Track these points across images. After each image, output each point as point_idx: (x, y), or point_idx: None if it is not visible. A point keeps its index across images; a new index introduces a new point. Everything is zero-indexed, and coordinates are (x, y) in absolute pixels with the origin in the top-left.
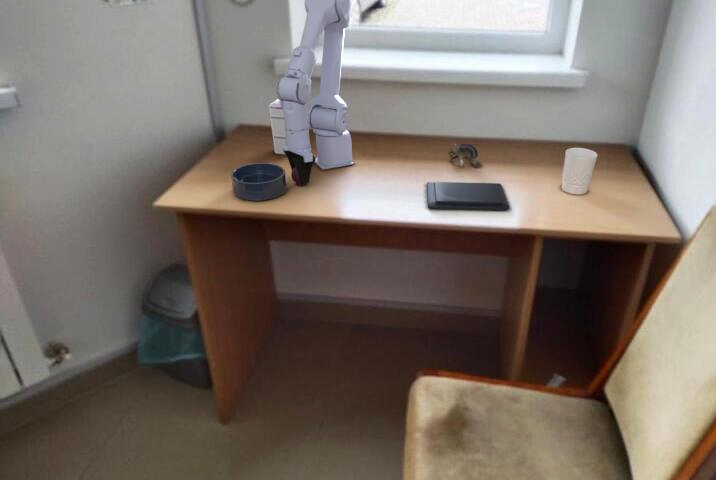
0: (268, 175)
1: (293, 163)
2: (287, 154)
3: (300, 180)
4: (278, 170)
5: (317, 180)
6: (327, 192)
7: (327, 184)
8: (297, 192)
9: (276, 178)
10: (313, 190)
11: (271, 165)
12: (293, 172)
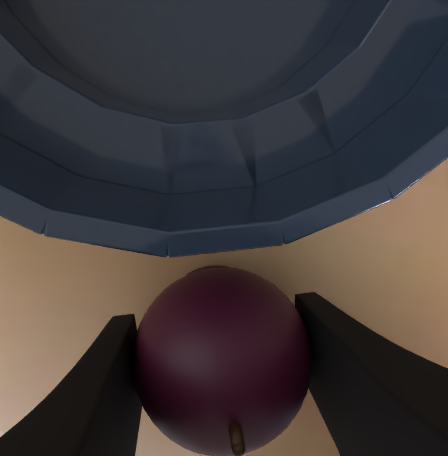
0: (350, 46)
1: (348, 381)
2: (432, 442)
3: (101, 332)
4: (315, 180)
5: None
6: (7, 430)
7: (145, 448)
8: (59, 246)
9: (222, 117)
10: (67, 358)
11: (444, 118)
12: (202, 323)
